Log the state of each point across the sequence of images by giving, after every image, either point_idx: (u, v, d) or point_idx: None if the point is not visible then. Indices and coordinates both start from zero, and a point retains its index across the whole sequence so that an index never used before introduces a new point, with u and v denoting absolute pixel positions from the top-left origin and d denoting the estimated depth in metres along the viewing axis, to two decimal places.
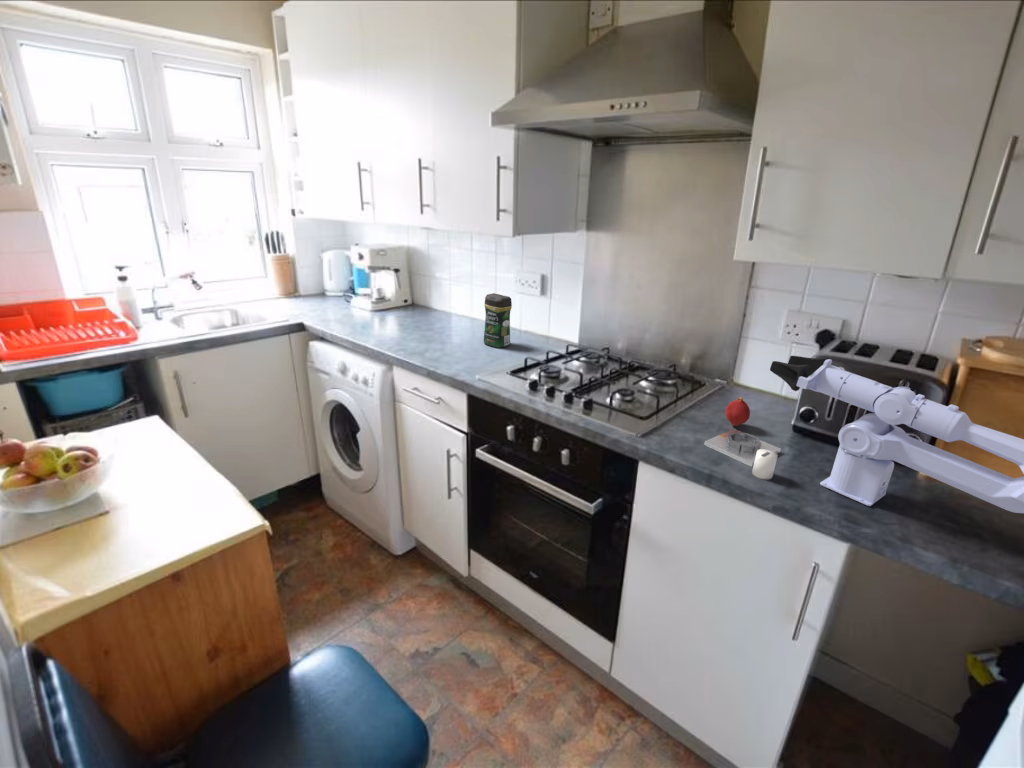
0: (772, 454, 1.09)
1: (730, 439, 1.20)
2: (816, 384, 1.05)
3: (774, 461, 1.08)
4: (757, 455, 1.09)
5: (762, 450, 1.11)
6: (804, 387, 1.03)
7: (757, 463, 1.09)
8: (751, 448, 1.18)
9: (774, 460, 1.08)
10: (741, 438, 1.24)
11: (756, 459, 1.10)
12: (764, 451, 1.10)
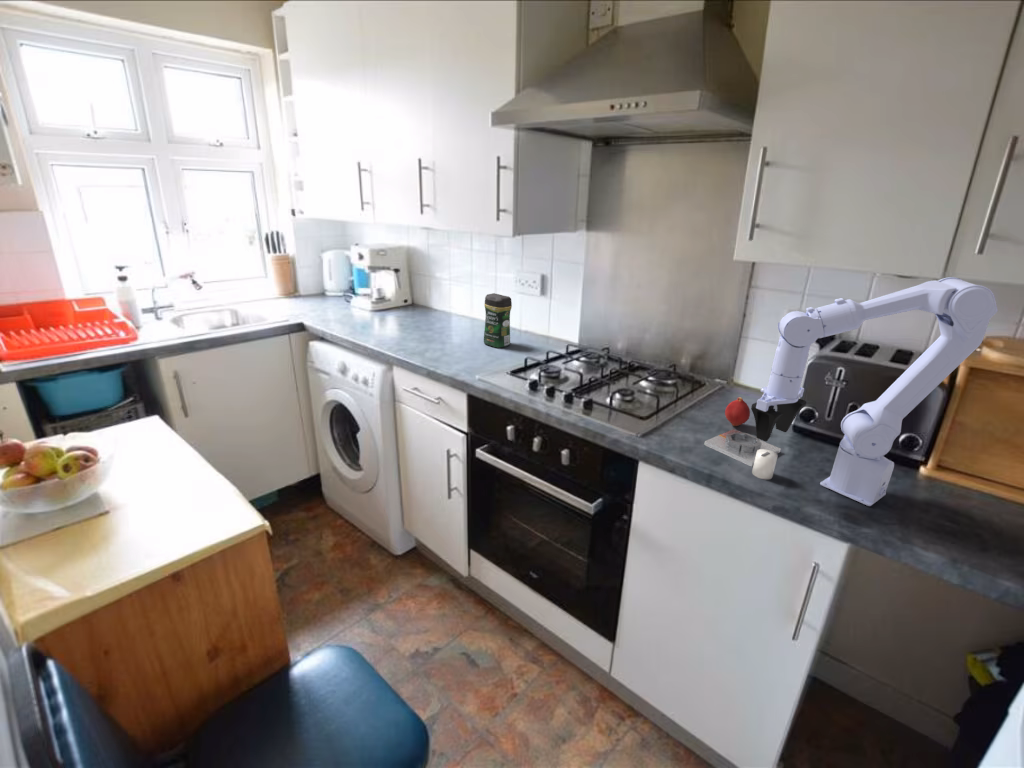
0: (772, 454, 1.09)
1: (730, 439, 1.20)
2: (778, 397, 1.02)
3: (774, 461, 1.08)
4: (757, 455, 1.09)
5: (762, 450, 1.11)
6: (765, 403, 1.00)
7: (757, 463, 1.09)
8: (751, 448, 1.18)
9: (774, 460, 1.08)
10: (741, 438, 1.24)
11: (756, 459, 1.10)
12: (764, 451, 1.10)
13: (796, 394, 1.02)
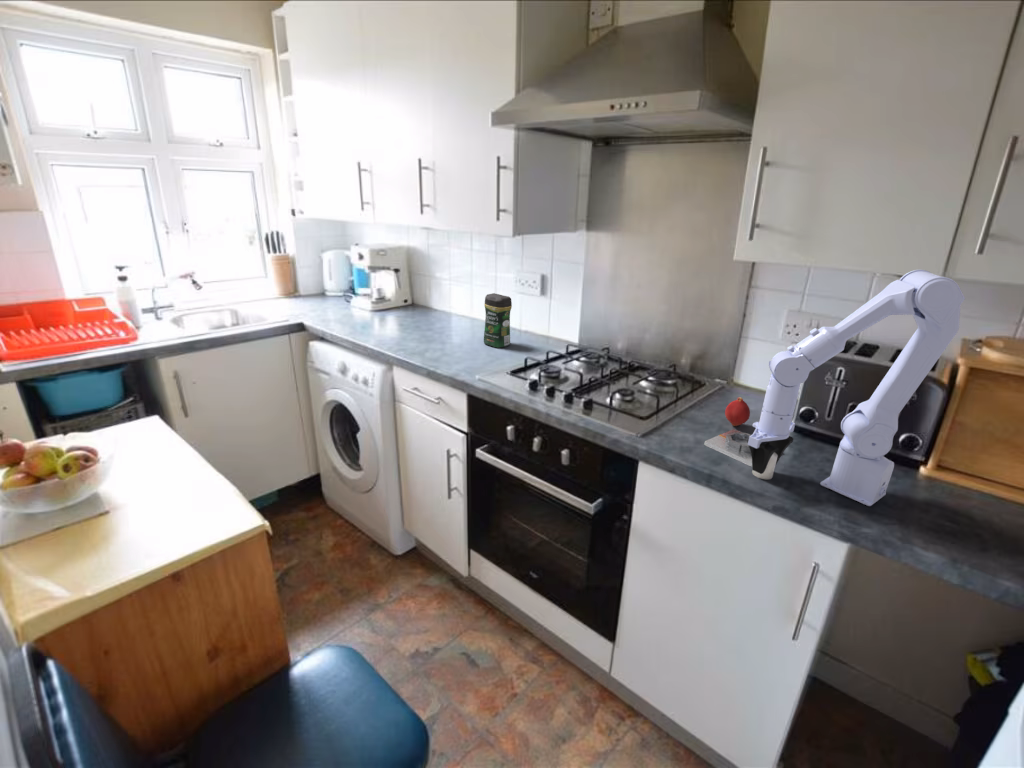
0: None
1: (730, 439, 1.20)
2: (769, 434, 1.05)
3: (774, 461, 1.08)
4: None
5: None
6: (756, 440, 1.03)
7: None
8: None
9: (774, 460, 1.08)
10: (741, 438, 1.24)
11: None
12: None
13: (787, 431, 1.05)
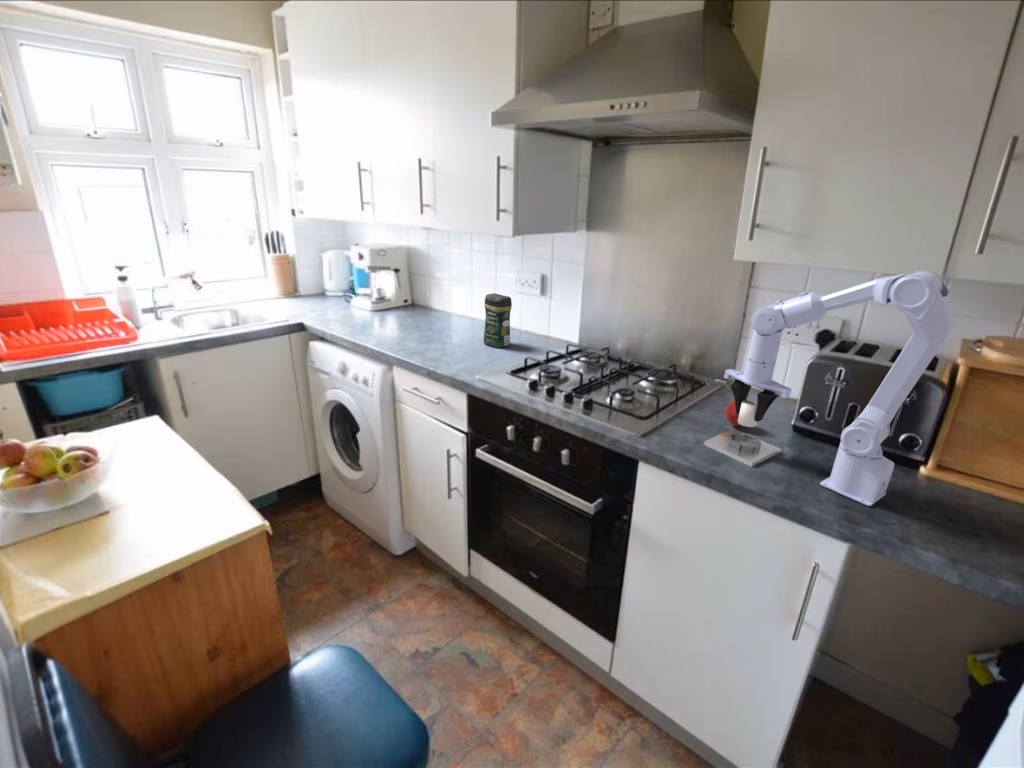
0: (752, 405, 1.16)
1: (730, 439, 1.20)
2: (743, 375, 1.17)
3: (744, 408, 1.17)
4: None
5: (756, 402, 1.18)
6: None
7: None
8: (751, 448, 1.18)
9: (744, 406, 1.17)
10: (741, 438, 1.24)
11: None
12: (755, 403, 1.18)
13: (750, 377, 1.14)
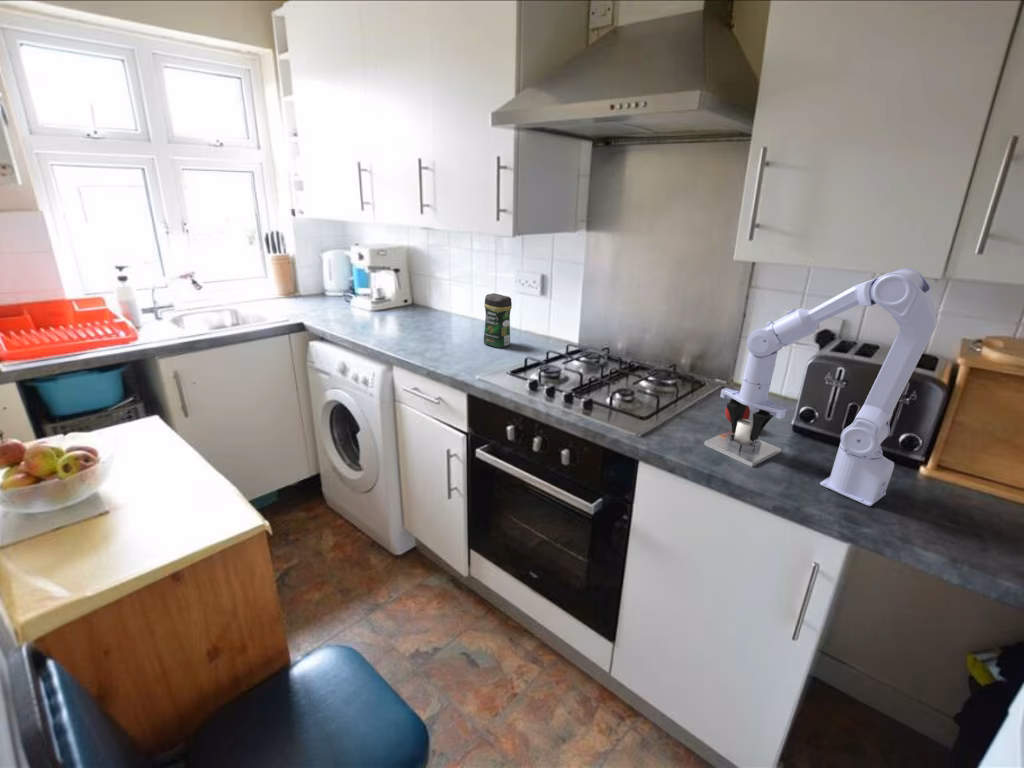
0: (748, 424, 1.18)
1: (730, 439, 1.20)
2: None
3: (740, 427, 1.18)
4: None
5: (752, 421, 1.20)
6: None
7: None
8: (751, 448, 1.18)
9: (740, 426, 1.19)
10: None
11: None
12: (750, 422, 1.19)
13: (745, 397, 1.15)
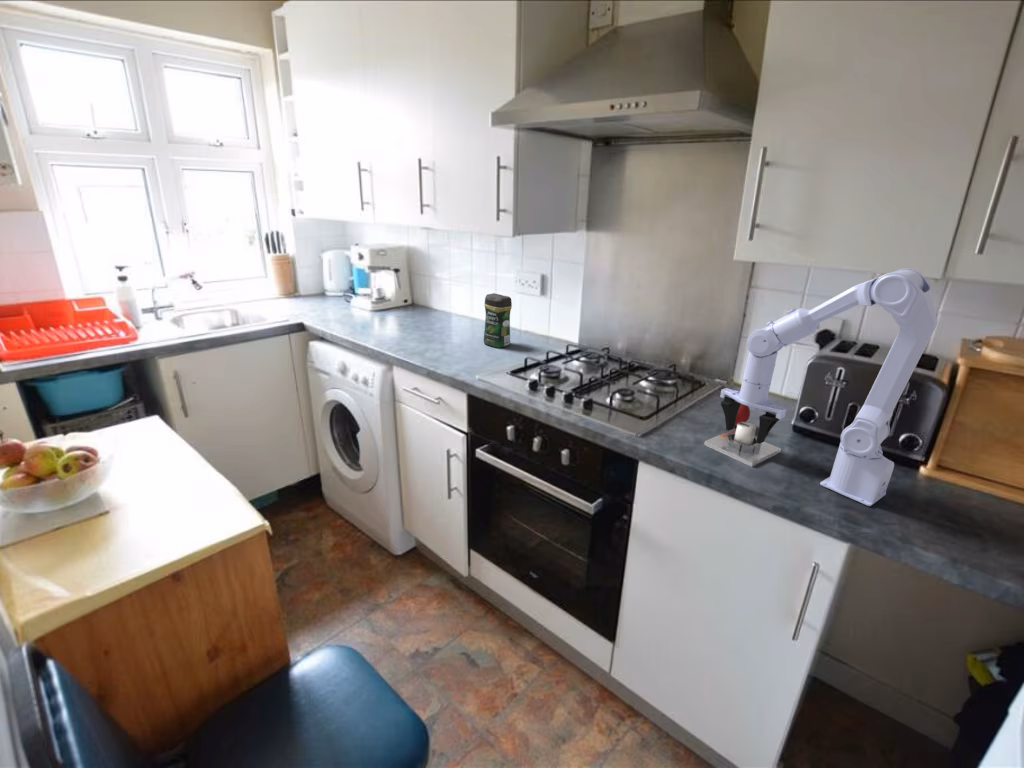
0: (747, 427, 1.18)
1: (730, 439, 1.20)
2: None
3: (740, 430, 1.19)
4: None
5: (751, 425, 1.20)
6: None
7: None
8: (751, 448, 1.18)
9: (739, 429, 1.19)
10: None
11: None
12: (750, 425, 1.20)
13: (745, 397, 1.15)
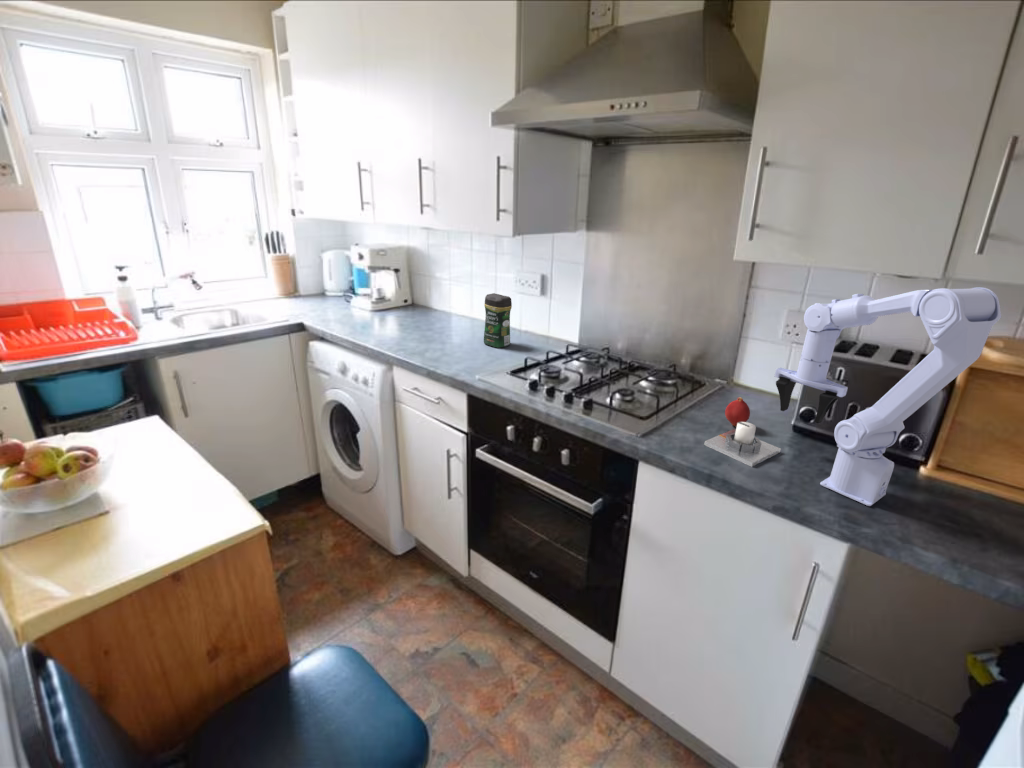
0: (747, 427, 1.18)
1: (730, 439, 1.20)
2: (796, 374, 1.16)
3: (740, 430, 1.19)
4: None
5: (751, 425, 1.20)
6: None
7: None
8: (751, 448, 1.18)
9: (739, 429, 1.19)
10: None
11: None
12: (750, 425, 1.19)
13: (804, 376, 1.12)
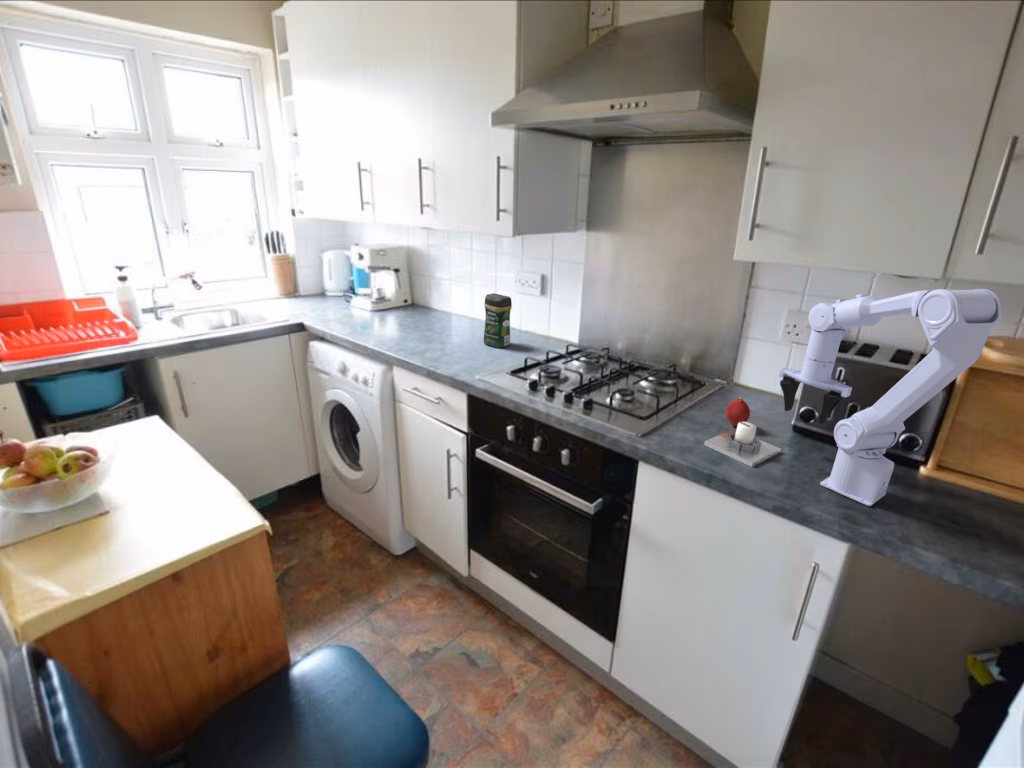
0: (747, 427, 1.18)
1: (730, 439, 1.20)
2: (800, 374, 1.16)
3: (740, 430, 1.19)
4: None
5: (752, 425, 1.19)
6: None
7: None
8: (751, 448, 1.18)
9: (739, 429, 1.19)
10: None
11: None
12: (751, 425, 1.19)
13: (808, 376, 1.12)
